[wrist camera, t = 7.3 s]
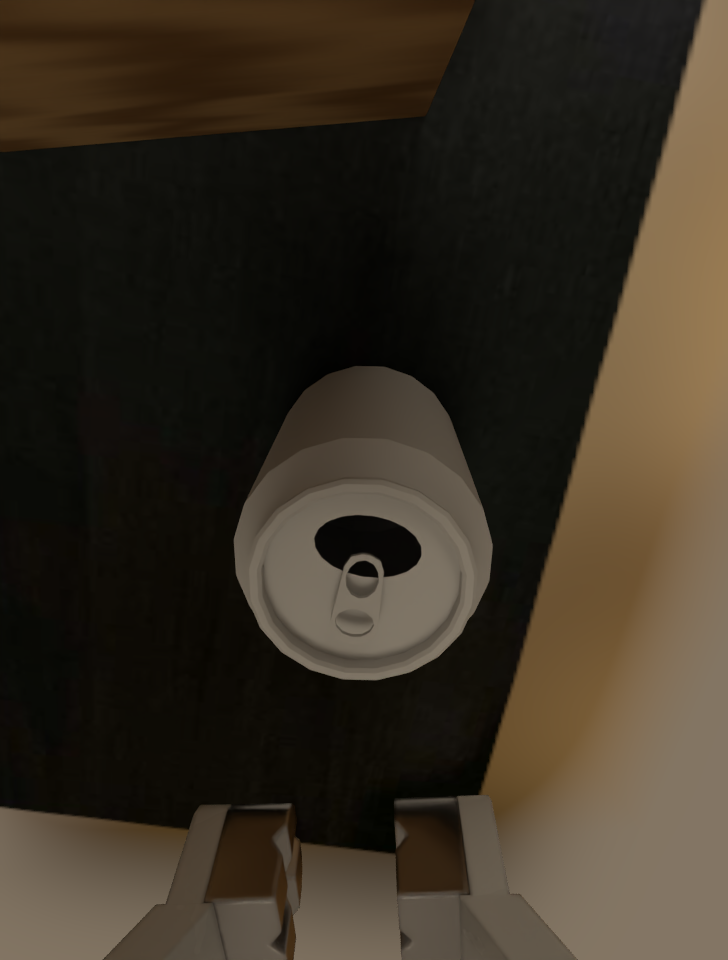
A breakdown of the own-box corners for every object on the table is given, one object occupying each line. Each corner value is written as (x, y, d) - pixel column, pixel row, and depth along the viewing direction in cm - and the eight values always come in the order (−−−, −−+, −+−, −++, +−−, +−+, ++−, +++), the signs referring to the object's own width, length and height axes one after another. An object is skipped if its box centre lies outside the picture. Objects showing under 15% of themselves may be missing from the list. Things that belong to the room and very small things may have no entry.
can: (471, 378, 27) (537, 486, 16) (433, 535, 30) (466, 722, 19) (294, 346, 27) (234, 434, 16) (272, 508, 29) (208, 682, 18)
